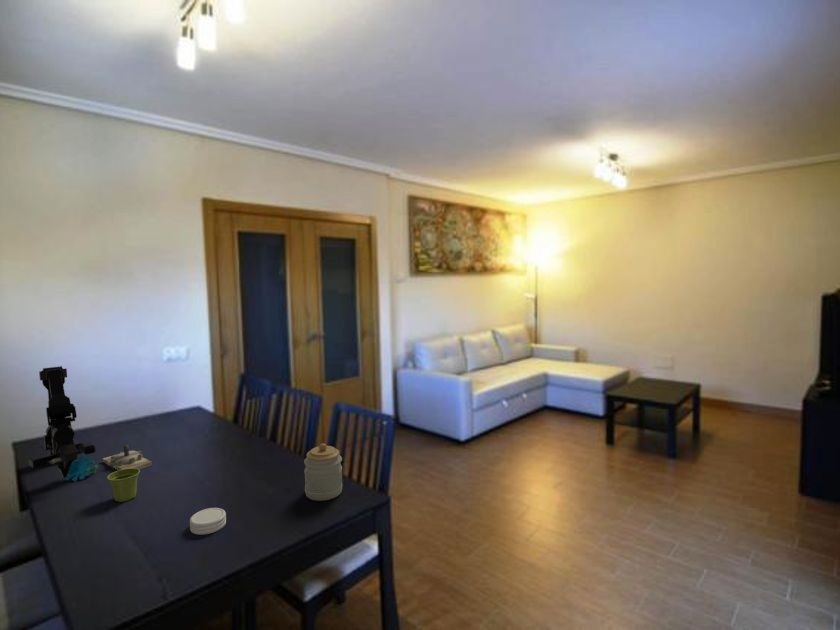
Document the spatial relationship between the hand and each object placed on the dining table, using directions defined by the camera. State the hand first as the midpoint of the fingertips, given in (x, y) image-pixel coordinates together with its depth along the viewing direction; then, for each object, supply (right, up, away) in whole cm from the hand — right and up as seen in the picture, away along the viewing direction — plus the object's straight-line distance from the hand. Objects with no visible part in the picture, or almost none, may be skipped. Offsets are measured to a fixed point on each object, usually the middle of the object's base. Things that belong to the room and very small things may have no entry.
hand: (64, 477), depth 167 cm
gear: (+2, -2, +5) cm, 6 cm away
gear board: (+12, -1, +17) cm, 21 cm away
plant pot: (+30, -3, -11) cm, 32 cm away
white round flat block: (+66, -5, -29) cm, 73 cm away
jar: (+97, -3, -8) cm, 98 cm away
